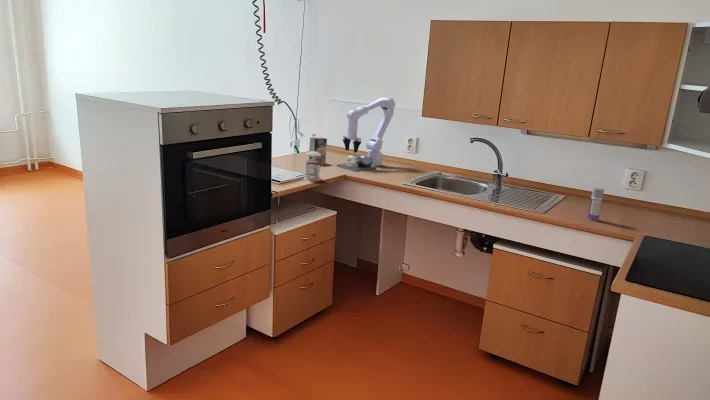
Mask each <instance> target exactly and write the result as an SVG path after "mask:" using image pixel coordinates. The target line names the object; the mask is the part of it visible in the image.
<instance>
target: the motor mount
mask: <svg viewBox="0 0 710 400" xmlns="http://www.w3.org/2000/svg"><path fill="white" fill-rule="evenodd" d="M353 156H357V157H358V158H357V160H356V164H349V161H347V162H346V163H338V164H336V167H338V168H341V169H345V170H349V171H352V172H361V171H371V170H376V169H377V166H371V165H372V164H373V159H372V158H371V157H368V155H367V156H366V155H362V154H358V153H357V154H355V155H353Z"/></svg>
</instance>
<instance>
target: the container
mask: <svg viewBox="0 0 710 400" xmlns="http://www.w3.org/2000/svg"><path fill="white" fill-rule="evenodd" d="M604 191H605V189H604V188H603V187H597V186H596V187H593V188H592V193H591V197H590V203H589V207H588V208H589V209H588V213H587V214H588V215H587V220H588V221H592V222H599V219H600V213H601V208H602V203H603V197H604Z"/></svg>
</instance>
